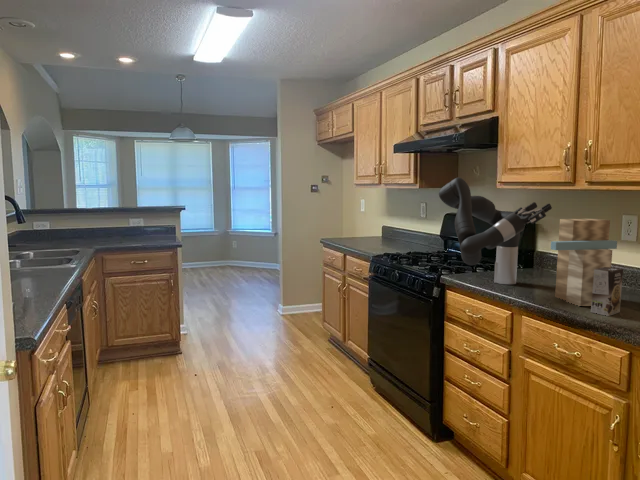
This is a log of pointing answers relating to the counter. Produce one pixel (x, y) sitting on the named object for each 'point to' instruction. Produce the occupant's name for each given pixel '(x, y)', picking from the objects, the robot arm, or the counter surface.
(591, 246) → the bar
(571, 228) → the wooden tall block
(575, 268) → the beige tall block
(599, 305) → the coffee box
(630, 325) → the counter surface
